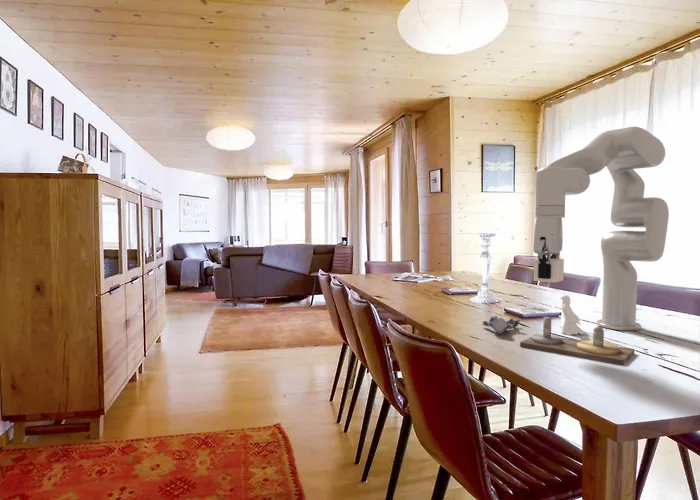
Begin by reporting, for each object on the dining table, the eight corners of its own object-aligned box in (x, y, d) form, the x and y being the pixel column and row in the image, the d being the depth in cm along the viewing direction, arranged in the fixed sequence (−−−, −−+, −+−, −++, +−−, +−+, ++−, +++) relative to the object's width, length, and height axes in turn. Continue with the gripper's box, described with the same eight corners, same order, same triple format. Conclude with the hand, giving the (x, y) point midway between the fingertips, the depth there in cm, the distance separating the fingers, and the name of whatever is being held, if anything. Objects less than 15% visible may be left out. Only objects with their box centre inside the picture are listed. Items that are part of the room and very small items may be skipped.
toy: (523, 322, 148) (521, 325, 134) (494, 339, 151) (489, 344, 137) (510, 304, 150) (508, 305, 136) (482, 321, 153) (476, 324, 139)
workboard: (537, 337, 135) (537, 312, 135) (634, 353, 118) (635, 324, 118) (520, 346, 126) (520, 319, 125) (622, 365, 109) (623, 333, 108)
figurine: (559, 329, 145) (560, 292, 144) (587, 332, 142) (588, 294, 141) (559, 335, 138) (560, 296, 138) (588, 337, 135) (589, 298, 134)
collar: (541, 278, 130) (541, 258, 130) (563, 280, 126) (563, 259, 126) (533, 280, 126) (534, 259, 126) (556, 282, 122) (556, 260, 122)
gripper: (547, 213, 134) (545, 273, 135) (524, 212, 121) (523, 279, 122) (574, 212, 129) (572, 275, 130) (553, 211, 116) (551, 281, 117)
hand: (548, 276), depth 126 cm, fingers closed on collar, 6 cm apart
